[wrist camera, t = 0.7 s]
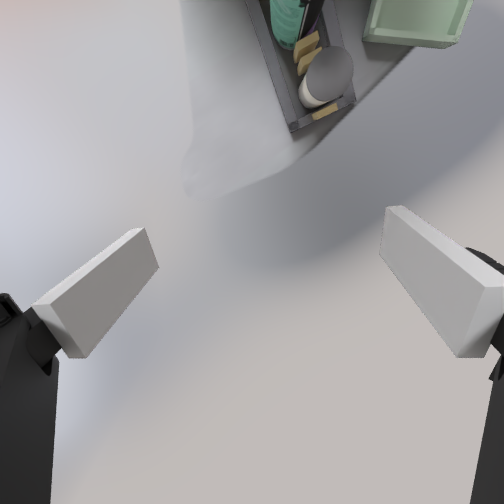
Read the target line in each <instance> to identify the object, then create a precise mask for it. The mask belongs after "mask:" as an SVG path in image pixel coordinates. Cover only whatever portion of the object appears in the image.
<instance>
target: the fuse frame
mask: <svg viewBox="0 0 504 504" xmlns="http://www.w3.org/2000/svg"><path fill="white" fill-rule="evenodd" d="M245 2H246V5H247V8H248V11H249V14H250V16H251V19H252V22H253V25H254V28H255V31H256V34H257V37H258V40H259V43H260V46H261V48H262V51H263V54H264V57H265V60H266V63H267V66H268V69H269V72H270V75H271V78H272V81H273V83H274V86H275V89H276V92H277V95H278V98H279V101H280V104H281V107H282V110H283V113H284V116H285V118H286V121H287V124H288V127H289V130H290V133H292V132H294V131H296V130H298V129H300V128H302V127H304V126H306V125H308V124H310V123H312V122H315V121H317V120H319V119H321V118H323V117H325V116H327V115H329V114H331V113H333V112H335V111H337V110H339V109H342V108H344V107H346V106H348V105H350V104H352V103H354V102H356V97H355V93H354V88H353V84H352V80H351V82H350V85H349V86H348V88H347V89H346V91H345V92H344V93H343V94H342V95H341V96H340V97H341V98H340V99H338V100H336V101H334V102H332V103H330V104H328V105H326V106H324V107H322V108H320V109H318V110H316V111H314V112H312V113H310V114H308V115H306V116H304V117H302V118H300V119H298V120H297V117H296V114H295V111H294V108H293V104H292V101H291V98H290V95H289V92H288V89H287V86H286V83H285V80H284V77H283V74H282V71H281V68H280V65H279V61H278V58H277V55H276V52H275V49H274V46H273V43H272V40H271V37H270V34H269V31H268V28H267V25H266V21H265V18H264V15H263V12H262V9H261V6H260V3H259V0H245ZM320 17H321V21H322V25H323V29H324V33H325V37H326V41H327V45H328V47H329V46H338V47H341V48H343V49H344V45H343V40H342V36H341V32H340V27H339V23H338V19H337V14H336V10H335V5H334V1H333V0H325V1H324V4H323V6H322V9H321V12H320ZM319 39H320V38H319V34H318V30H317V31H315V32H313V33H312V34H310V35H308V36H306V37H305V38H303V39H301V40H300V41H298V42H296V45H295V50H294V54H293V59H294V62H295V64H296V63H297V62H299V64H298V67H297V72H298V75H299V76H300V75H302V74H304V73H306V72H307V70H308V67H309V65H310V63H311V61H312V60H313V58H314V57H315V55H316V54H317V53H318V52H320V51H321V50H322V46H321V47H319V48H318V49H316V50H315V48H316V46H317V43H318V41H319Z"/></svg>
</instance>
